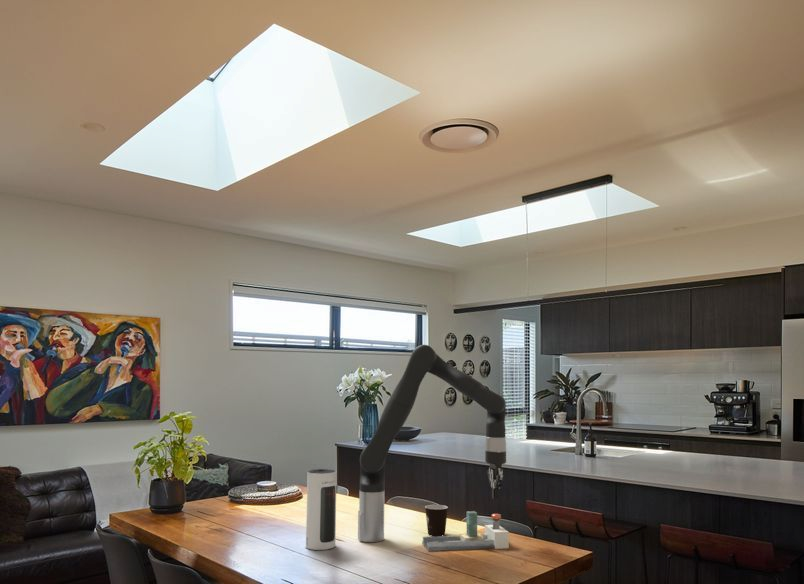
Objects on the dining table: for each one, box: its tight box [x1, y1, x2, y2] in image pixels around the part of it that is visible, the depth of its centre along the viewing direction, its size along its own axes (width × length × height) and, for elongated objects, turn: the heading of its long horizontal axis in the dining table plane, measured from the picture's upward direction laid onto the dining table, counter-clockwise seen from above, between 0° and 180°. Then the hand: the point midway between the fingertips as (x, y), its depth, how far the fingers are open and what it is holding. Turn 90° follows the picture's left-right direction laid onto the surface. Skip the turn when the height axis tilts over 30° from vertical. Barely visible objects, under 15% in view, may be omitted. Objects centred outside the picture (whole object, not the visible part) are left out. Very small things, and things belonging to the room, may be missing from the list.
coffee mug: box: [424, 504, 449, 536], centre depth 236 cm, size 12×9×10 cm
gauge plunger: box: [491, 513, 502, 530], centre depth 221 cm, size 3×3×9 cm
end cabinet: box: [484, 524, 510, 550], centre depth 220 cm, size 5×11×6 cm, turn 11°
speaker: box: [305, 468, 337, 551], centre depth 217 cm, size 11×10×26 cm
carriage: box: [459, 510, 484, 540], centre depth 219 cm, size 7×5×10 cm
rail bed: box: [421, 533, 495, 552], centre depth 218 cm, size 27×10×3 cm, turn 101°
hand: (495, 499), depth 222 cm, fingers closed
